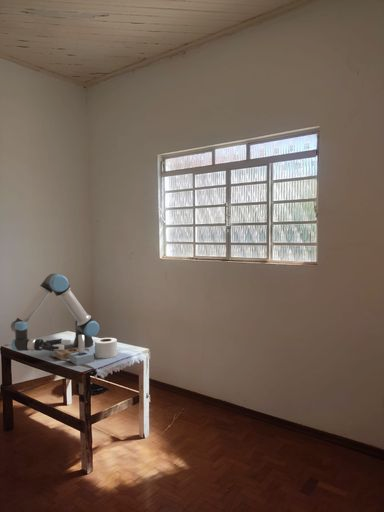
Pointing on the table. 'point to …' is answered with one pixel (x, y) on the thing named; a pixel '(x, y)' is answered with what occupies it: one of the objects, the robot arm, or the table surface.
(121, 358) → the table surface
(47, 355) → the table surface
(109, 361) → the table surface
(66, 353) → the walnut beam
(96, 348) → the toilet paper roll
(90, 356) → the seat block
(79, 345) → the steel axle
